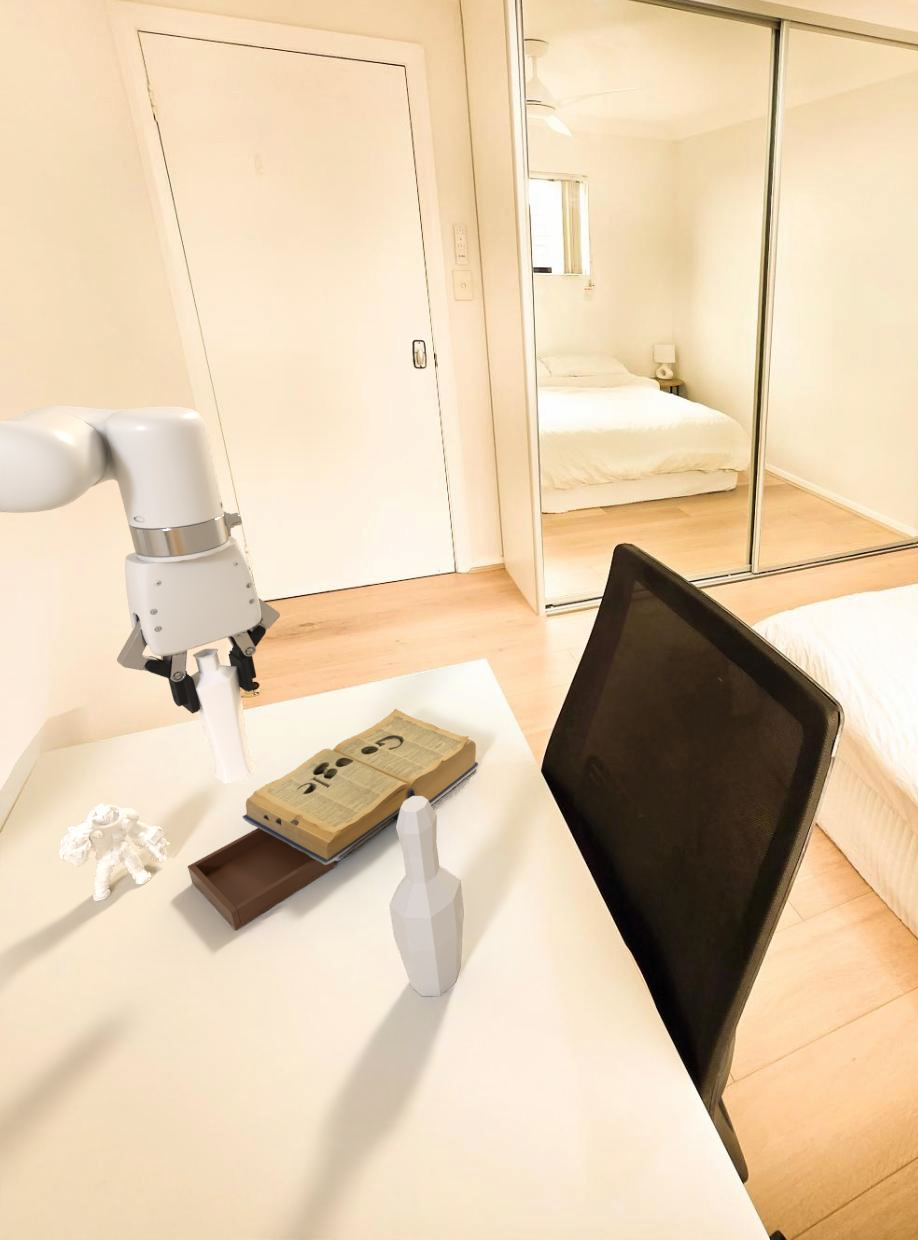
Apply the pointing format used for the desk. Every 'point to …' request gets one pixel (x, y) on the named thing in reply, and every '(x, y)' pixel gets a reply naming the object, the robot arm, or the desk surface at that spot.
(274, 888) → the tray
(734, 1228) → the desk surface
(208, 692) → the white faceted vase
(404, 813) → the low poly bottle
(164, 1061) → the desk surface
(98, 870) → the figurine
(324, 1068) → the desk surface
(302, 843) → the book
